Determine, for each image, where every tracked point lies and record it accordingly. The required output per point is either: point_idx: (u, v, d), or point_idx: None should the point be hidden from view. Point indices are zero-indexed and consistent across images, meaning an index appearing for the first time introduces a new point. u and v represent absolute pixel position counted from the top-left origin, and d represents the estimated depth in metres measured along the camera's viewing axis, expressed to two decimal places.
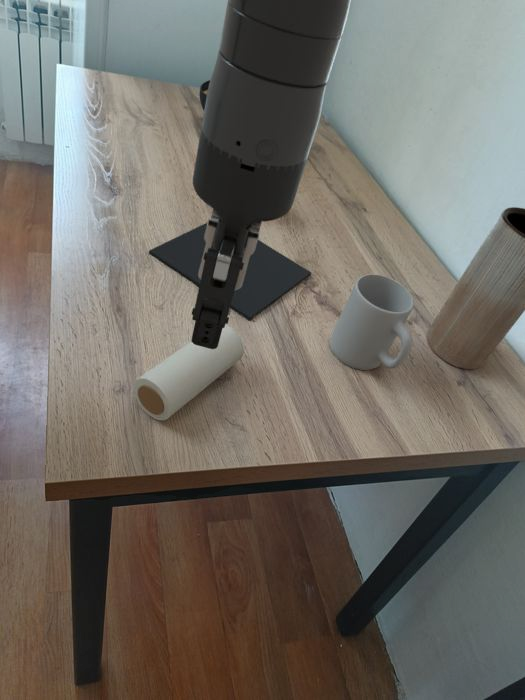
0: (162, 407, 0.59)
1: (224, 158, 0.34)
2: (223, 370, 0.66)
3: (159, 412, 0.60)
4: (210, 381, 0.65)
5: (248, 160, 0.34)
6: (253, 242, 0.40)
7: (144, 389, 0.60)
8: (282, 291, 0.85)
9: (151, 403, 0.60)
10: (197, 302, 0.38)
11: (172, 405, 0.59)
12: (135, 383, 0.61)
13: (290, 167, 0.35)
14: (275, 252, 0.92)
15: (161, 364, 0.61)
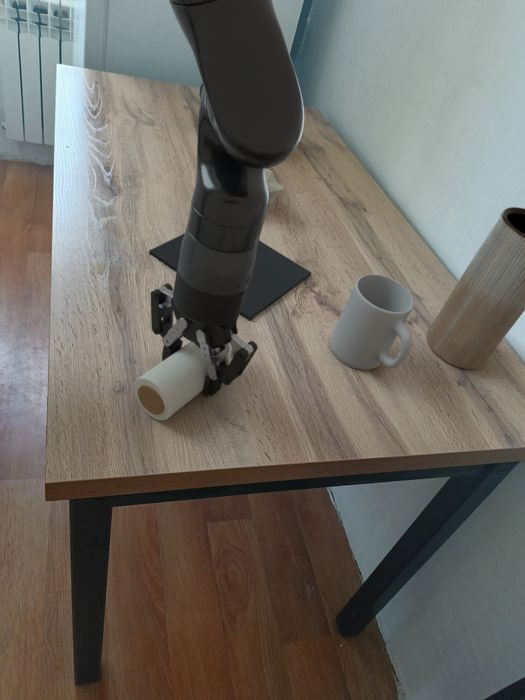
0: (162, 407, 0.59)
1: (229, 298, 0.53)
2: None
3: (159, 412, 0.60)
4: None
5: (242, 290, 0.54)
6: None
7: (144, 389, 0.60)
8: (282, 291, 0.85)
9: (151, 403, 0.60)
10: (234, 377, 0.60)
11: (172, 405, 0.59)
12: (135, 383, 0.61)
13: None
14: (275, 252, 0.92)
15: (161, 364, 0.61)
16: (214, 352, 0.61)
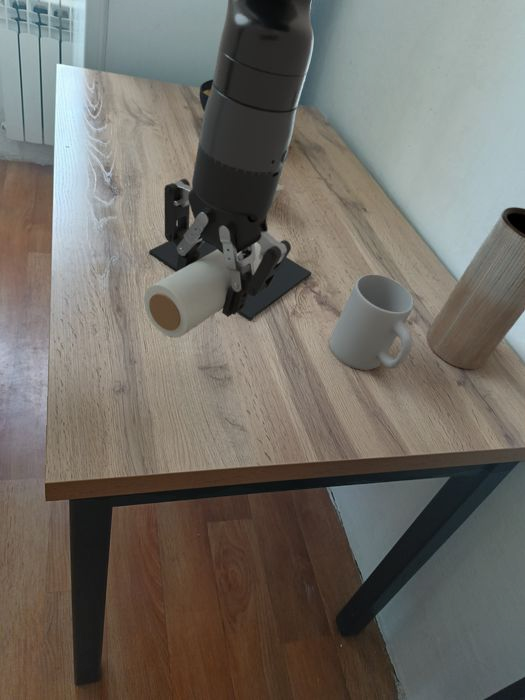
0: (178, 319, 0.51)
1: (262, 177, 0.45)
2: None
3: (174, 326, 0.51)
4: None
5: (277, 169, 0.45)
6: None
7: (157, 298, 0.51)
8: (282, 291, 0.85)
9: (165, 316, 0.52)
10: (262, 284, 0.51)
11: (190, 316, 0.50)
12: (146, 293, 0.52)
13: None
14: None
15: (176, 272, 0.53)
16: (239, 258, 0.52)
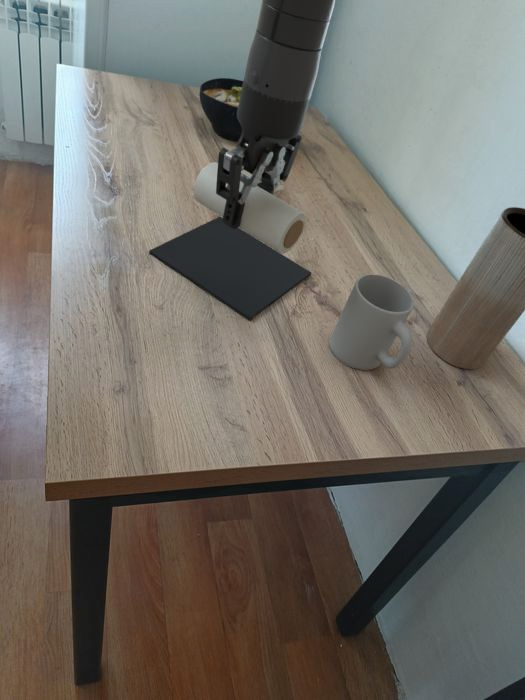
0: (302, 227, 0.67)
1: None
2: None
3: (299, 235, 0.68)
4: None
5: None
6: None
7: (292, 229, 0.65)
8: (282, 291, 0.85)
9: (294, 235, 0.67)
10: (290, 166, 0.69)
11: None
12: (283, 236, 0.64)
13: None
14: (275, 252, 0.92)
15: (269, 210, 0.65)
16: None
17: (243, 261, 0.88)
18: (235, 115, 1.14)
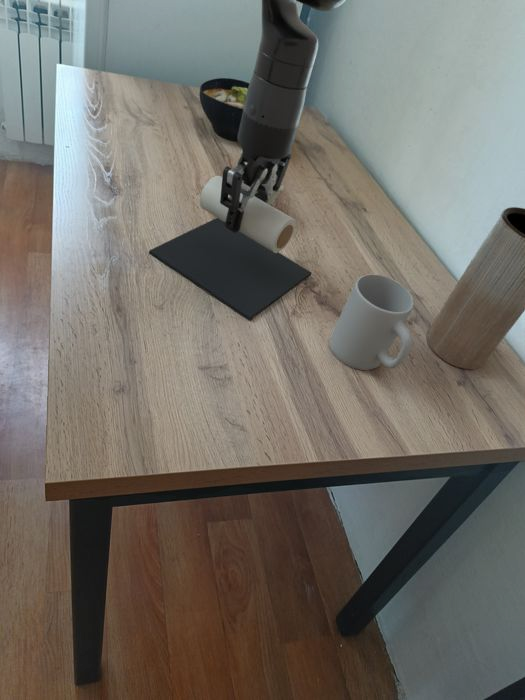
0: (292, 230, 0.80)
1: None
2: None
3: (289, 237, 0.80)
4: None
5: None
6: None
7: (284, 233, 0.78)
8: (282, 291, 0.85)
9: (286, 238, 0.79)
10: (282, 179, 0.82)
11: None
12: (276, 238, 0.77)
13: None
14: None
15: (264, 216, 0.77)
16: None
17: (243, 261, 0.88)
18: (235, 115, 1.14)
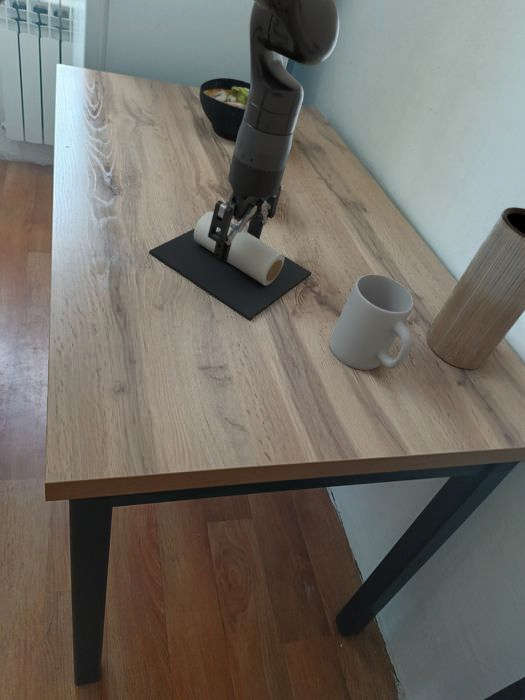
0: (281, 264, 0.84)
1: None
2: None
3: (279, 271, 0.85)
4: None
5: None
6: None
7: (273, 267, 0.82)
8: (282, 291, 0.85)
9: (275, 271, 0.84)
10: (275, 206, 0.86)
11: None
12: (266, 272, 0.81)
13: None
14: None
15: (255, 251, 0.81)
16: None
17: None
18: (235, 115, 1.14)
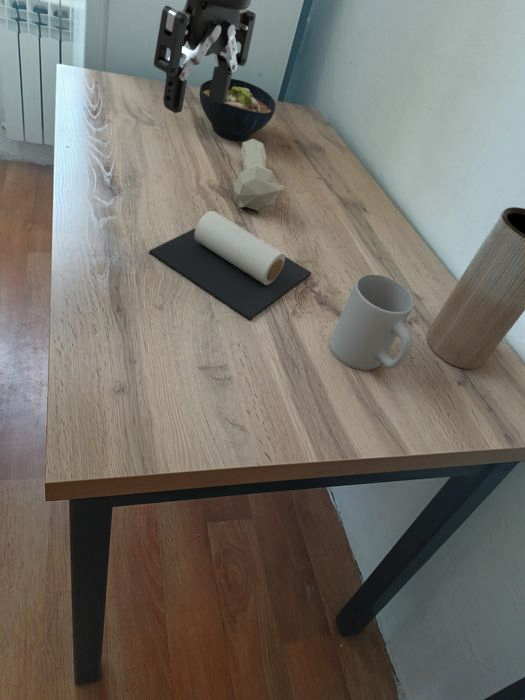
0: (282, 264, 0.84)
1: None
2: None
3: (279, 271, 0.85)
4: None
5: None
6: None
7: (274, 266, 0.82)
8: (282, 291, 0.85)
9: (276, 271, 0.84)
10: (248, 48, 0.66)
11: None
12: (267, 270, 0.81)
13: None
14: None
15: (256, 250, 0.82)
16: (223, 47, 0.63)
17: None
18: (235, 115, 1.14)
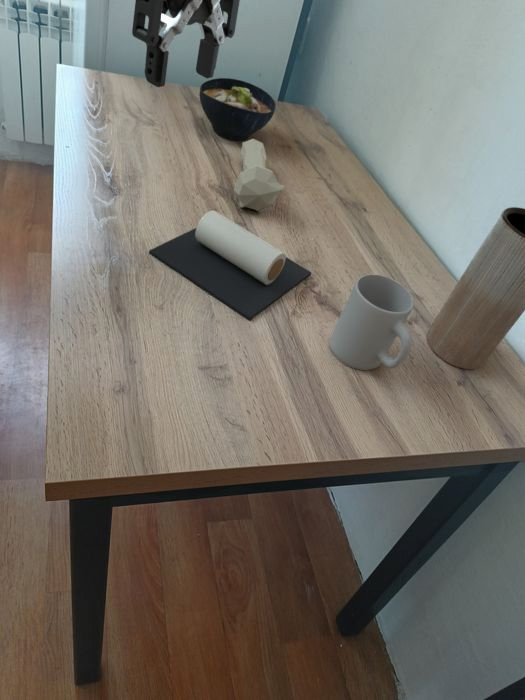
0: (282, 265, 0.85)
1: None
2: None
3: (279, 271, 0.85)
4: None
5: None
6: None
7: (275, 265, 0.82)
8: (282, 291, 0.85)
9: (276, 270, 0.84)
10: (235, 19, 0.62)
11: None
12: (268, 269, 0.81)
13: None
14: None
15: (258, 249, 0.82)
16: (208, 17, 0.60)
17: None
18: (235, 115, 1.14)
